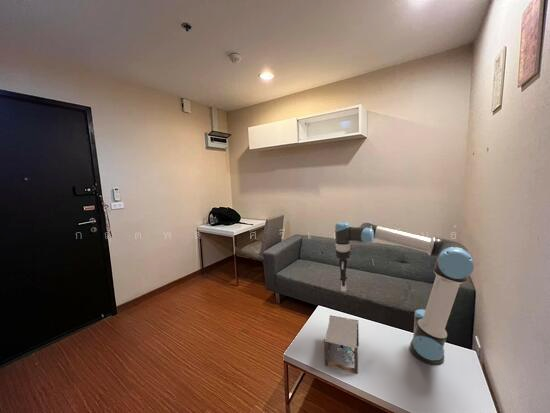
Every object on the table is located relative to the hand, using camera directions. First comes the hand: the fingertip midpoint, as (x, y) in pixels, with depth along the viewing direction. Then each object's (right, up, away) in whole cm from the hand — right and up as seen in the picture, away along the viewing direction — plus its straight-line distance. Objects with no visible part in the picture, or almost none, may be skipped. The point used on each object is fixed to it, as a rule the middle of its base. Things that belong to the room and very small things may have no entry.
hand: (343, 290), depth 126 cm
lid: (-3, -19, -6) cm, 21 cm away
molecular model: (0, -33, -7) cm, 34 cm away
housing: (-2, -33, -5) cm, 33 cm away
